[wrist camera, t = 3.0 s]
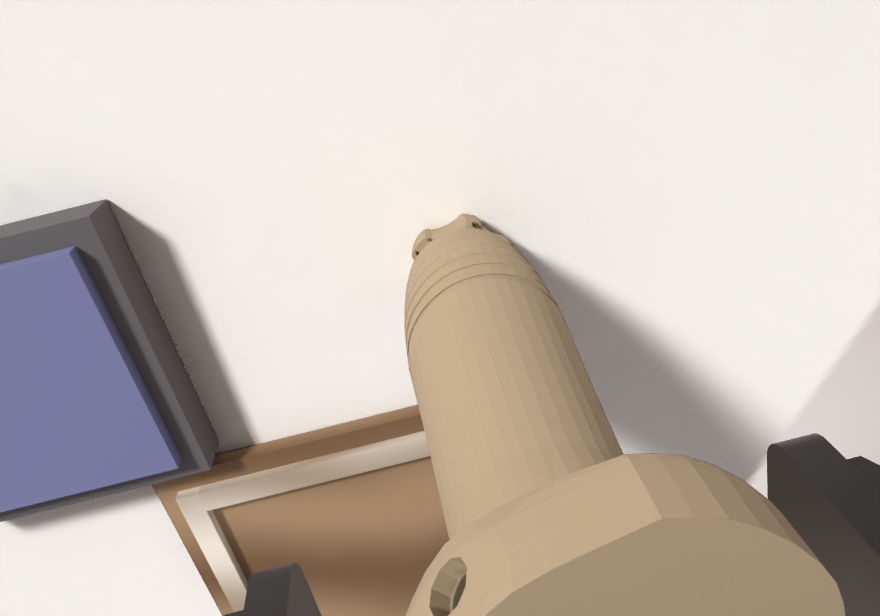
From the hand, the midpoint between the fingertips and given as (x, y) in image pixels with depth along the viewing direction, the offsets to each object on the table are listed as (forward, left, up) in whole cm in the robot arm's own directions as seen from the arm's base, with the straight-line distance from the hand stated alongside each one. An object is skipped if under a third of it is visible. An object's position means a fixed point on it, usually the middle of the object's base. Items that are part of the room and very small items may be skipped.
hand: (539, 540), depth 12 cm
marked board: (+11, -6, -12) cm, 17 cm away
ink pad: (0, -14, -12) cm, 18 cm away
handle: (0, 0, -12) cm, 12 cm away
